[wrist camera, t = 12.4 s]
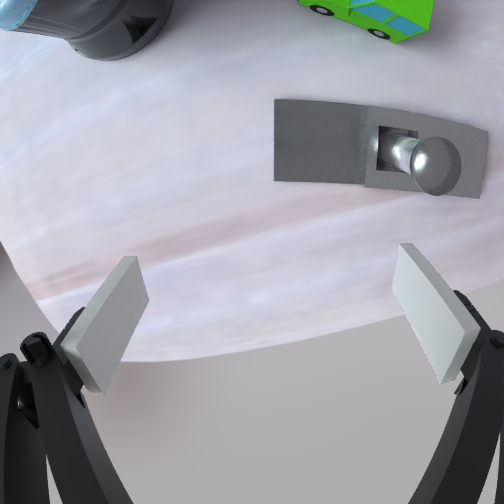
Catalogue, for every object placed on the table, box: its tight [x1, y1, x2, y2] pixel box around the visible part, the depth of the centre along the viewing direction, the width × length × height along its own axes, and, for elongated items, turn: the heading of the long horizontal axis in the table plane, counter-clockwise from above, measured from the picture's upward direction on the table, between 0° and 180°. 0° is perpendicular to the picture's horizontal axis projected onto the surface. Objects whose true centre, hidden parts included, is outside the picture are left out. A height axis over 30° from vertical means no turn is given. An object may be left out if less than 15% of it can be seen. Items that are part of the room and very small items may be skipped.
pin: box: [377, 132, 461, 196], centre depth 29 cm, size 6×6×13 cm
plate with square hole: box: [274, 99, 488, 199], centre depth 33 cm, size 10×30×3 cm, turn 90°
